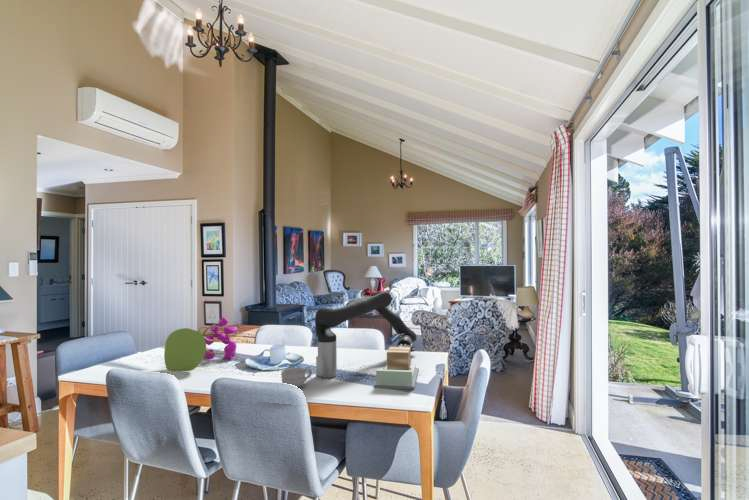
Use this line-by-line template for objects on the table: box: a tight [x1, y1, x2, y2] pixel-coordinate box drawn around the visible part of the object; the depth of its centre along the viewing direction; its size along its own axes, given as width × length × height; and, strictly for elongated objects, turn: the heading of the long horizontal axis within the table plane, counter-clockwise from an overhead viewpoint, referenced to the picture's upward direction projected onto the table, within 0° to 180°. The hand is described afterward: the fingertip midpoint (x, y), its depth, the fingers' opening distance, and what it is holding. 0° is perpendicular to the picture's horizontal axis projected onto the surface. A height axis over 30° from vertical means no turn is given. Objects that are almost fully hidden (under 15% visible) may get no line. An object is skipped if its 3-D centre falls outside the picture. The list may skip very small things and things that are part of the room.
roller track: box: [373, 364, 420, 390], centre depth 205 cm, size 30×18×8 cm, turn 170°
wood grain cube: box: [386, 345, 412, 370], centre depth 211 cm, size 12×10×11 cm
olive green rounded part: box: [163, 316, 238, 372], centre depth 239 cm, size 30×28×35 cm
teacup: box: [280, 367, 313, 389], centre depth 195 cm, size 14×11×8 cm
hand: (401, 352), depth 221 cm, fingers closed
